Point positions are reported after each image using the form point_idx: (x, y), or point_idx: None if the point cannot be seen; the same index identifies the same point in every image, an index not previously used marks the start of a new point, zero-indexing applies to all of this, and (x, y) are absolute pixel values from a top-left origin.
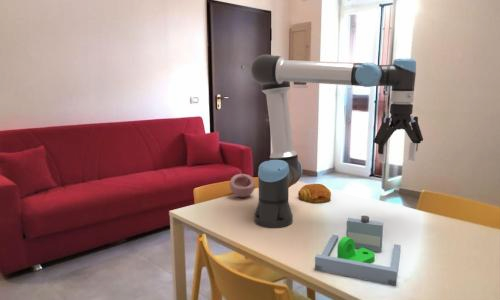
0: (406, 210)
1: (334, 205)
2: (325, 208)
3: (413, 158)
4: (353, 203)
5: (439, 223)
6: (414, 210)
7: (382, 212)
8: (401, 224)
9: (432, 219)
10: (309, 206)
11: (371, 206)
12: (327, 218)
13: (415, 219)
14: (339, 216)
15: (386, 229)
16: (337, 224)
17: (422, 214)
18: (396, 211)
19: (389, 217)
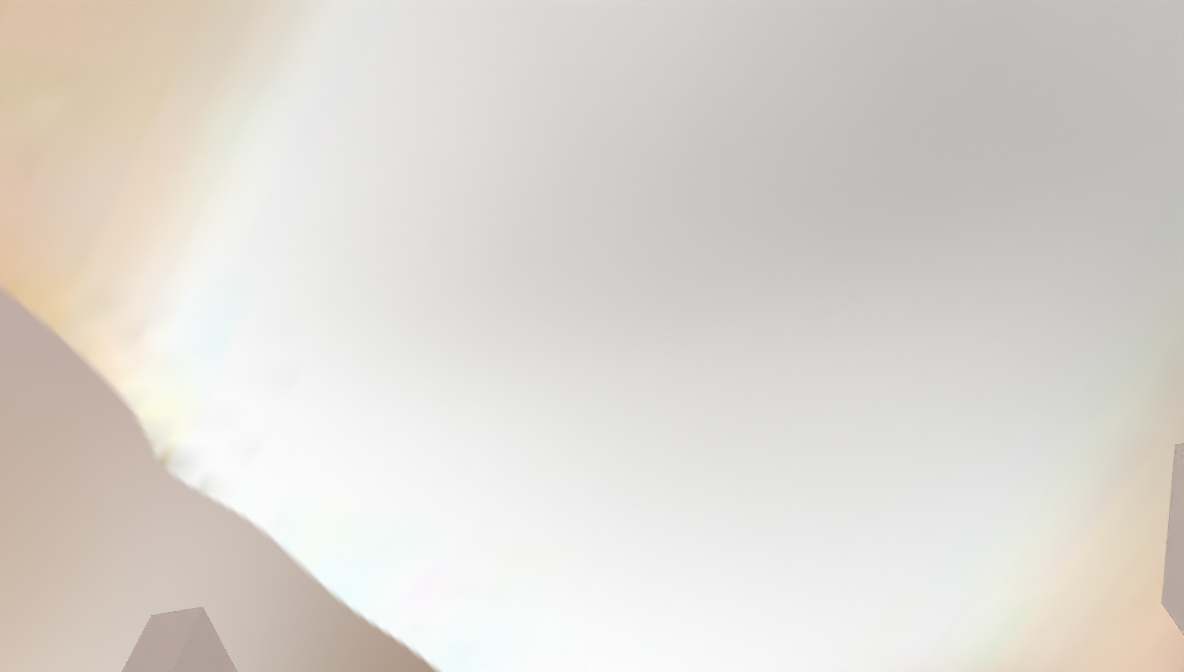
0: (273, 446)
1: (880, 633)
2: (1001, 583)
3: (187, 666)
4: (686, 654)
5: (79, 75)
6: (192, 436)
7: (535, 432)
8: (508, 114)
9: (109, 192)
10: (1107, 638)
11: (561, 574)
12: (1136, 368)
13: (292, 219)
14: (996, 397)
15: (740, 7)
16: (1143, 215)
17: (156, 332)
18: (385, 437)
19: (533, 307)
